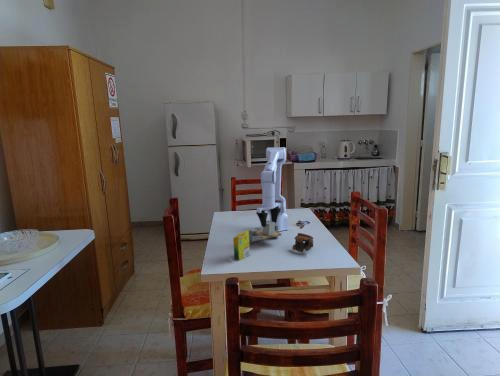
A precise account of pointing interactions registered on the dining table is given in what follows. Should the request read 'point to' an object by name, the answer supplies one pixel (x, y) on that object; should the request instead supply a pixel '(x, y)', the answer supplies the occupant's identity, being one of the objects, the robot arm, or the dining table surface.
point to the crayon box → (241, 245)
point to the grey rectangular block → (269, 228)
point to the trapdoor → (259, 233)
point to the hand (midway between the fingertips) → (268, 224)
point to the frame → (259, 237)
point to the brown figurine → (303, 245)
